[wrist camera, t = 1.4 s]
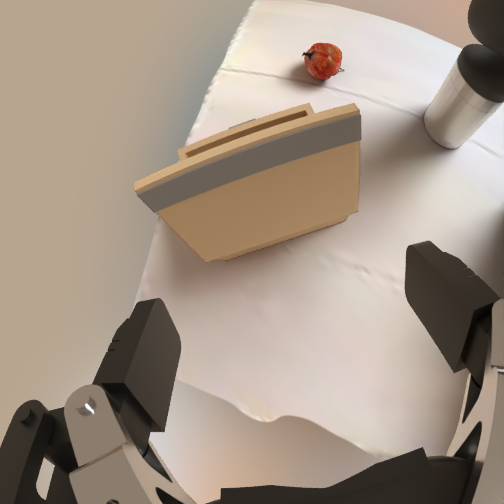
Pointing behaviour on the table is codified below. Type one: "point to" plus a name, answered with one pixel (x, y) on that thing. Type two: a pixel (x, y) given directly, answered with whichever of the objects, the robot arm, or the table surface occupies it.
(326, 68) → the pomegranate
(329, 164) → the box lid
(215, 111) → the table surface
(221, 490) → the robot arm
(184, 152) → the cardboard box
